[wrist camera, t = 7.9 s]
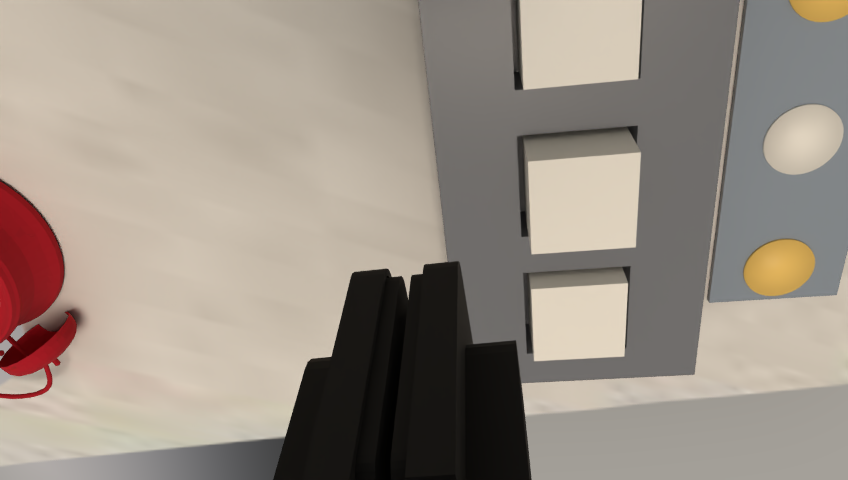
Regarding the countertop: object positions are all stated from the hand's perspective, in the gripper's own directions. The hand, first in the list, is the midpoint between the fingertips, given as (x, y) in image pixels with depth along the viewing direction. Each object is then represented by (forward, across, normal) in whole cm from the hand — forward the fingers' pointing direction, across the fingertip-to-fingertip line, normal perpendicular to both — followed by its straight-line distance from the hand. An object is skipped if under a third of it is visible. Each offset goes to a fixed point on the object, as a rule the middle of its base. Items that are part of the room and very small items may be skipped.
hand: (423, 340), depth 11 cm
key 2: (+21, -5, 0) cm, 21 cm away
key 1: (+20, -4, +14) cm, 25 cm away
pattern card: (+21, -15, +8) cm, 27 cm away
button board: (+21, -5, +7) cm, 23 cm away
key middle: (+19, -5, +7) cm, 21 cm away
